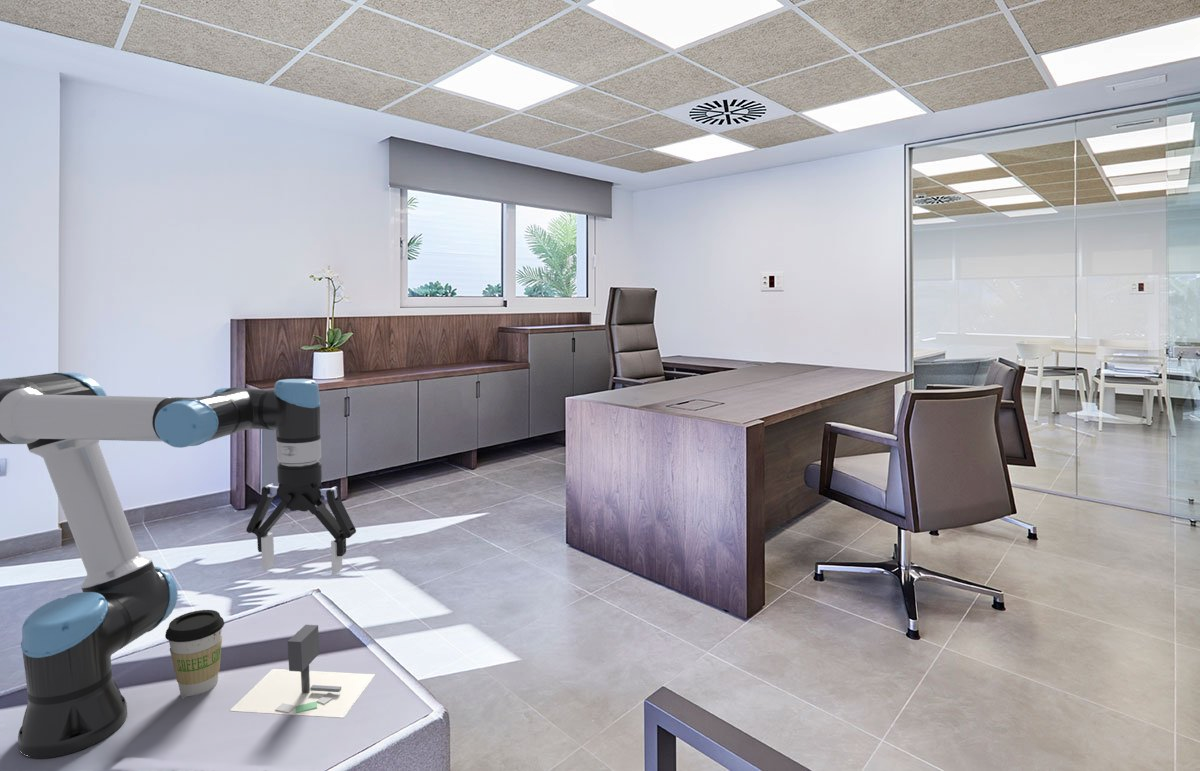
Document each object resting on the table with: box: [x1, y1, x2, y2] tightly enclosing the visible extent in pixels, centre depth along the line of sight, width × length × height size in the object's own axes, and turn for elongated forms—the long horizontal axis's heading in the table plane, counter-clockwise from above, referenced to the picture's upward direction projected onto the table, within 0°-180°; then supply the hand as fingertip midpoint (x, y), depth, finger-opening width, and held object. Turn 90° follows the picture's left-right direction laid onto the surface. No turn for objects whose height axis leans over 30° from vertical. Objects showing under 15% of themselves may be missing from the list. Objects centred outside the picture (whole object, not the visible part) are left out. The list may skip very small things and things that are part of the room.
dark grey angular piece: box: [287, 624, 341, 693], centre depth 124 cm, size 8×6×12 cm
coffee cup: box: [164, 609, 225, 700], centre depth 126 cm, size 10×10×15 cm
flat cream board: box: [229, 668, 376, 719], centre depth 125 cm, size 22×14×1 cm, turn 86°
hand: (302, 569), depth 122 cm, fingers open, 13 cm apart
